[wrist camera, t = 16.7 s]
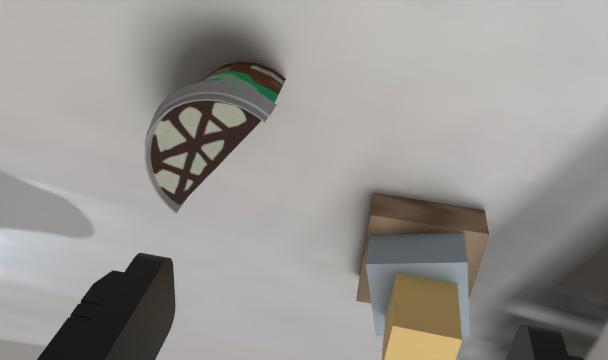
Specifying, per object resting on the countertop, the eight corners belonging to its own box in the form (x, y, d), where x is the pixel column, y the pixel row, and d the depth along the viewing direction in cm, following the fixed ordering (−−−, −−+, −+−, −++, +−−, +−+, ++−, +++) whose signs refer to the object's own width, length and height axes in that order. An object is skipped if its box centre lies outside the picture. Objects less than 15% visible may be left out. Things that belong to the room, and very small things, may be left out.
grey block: (378, 304, 53) (375, 335, 49) (369, 235, 49) (365, 264, 46) (466, 303, 51) (469, 336, 48) (463, 232, 47) (467, 262, 44)
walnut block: (360, 273, 57) (356, 300, 53) (373, 190, 51) (370, 215, 48) (460, 290, 55) (462, 319, 52) (484, 208, 50) (489, 234, 47)
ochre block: (385, 316, 48) (381, 371, 43) (395, 272, 46) (392, 325, 40) (443, 328, 48) (446, 385, 43) (457, 284, 45) (462, 339, 40)
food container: (240, 14, 45) (198, 54, 36) (297, 67, 46) (270, 116, 38) (159, 113, 51) (107, 167, 42) (212, 157, 52) (172, 217, 44)
